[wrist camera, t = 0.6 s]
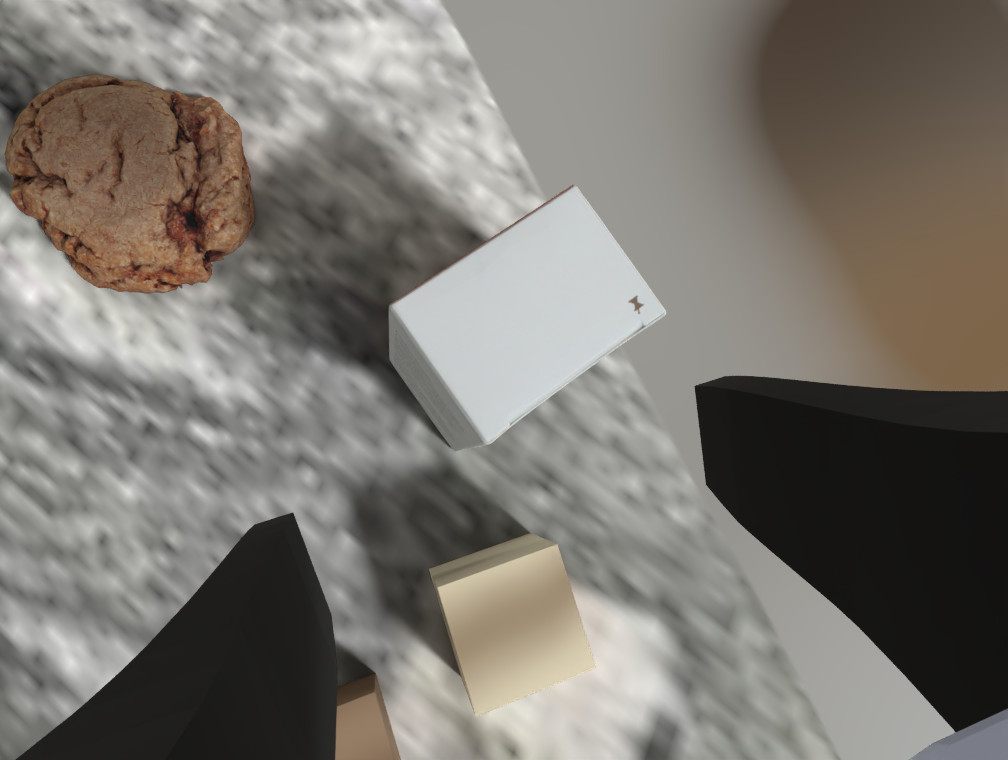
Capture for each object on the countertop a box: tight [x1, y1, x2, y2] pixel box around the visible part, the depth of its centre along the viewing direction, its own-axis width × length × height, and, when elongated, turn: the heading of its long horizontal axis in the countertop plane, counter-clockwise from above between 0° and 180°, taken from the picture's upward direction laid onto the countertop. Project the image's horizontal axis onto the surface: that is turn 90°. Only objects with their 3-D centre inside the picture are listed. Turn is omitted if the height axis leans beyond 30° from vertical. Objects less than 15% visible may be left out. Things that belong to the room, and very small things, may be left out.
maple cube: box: [429, 533, 596, 717], centre depth 28 cm, size 5×5×5 cm
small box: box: [389, 185, 666, 451], centre depth 26 cm, size 8×6×10 cm
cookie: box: [5, 75, 254, 293], centre depth 28 cm, size 10×11×3 cm
